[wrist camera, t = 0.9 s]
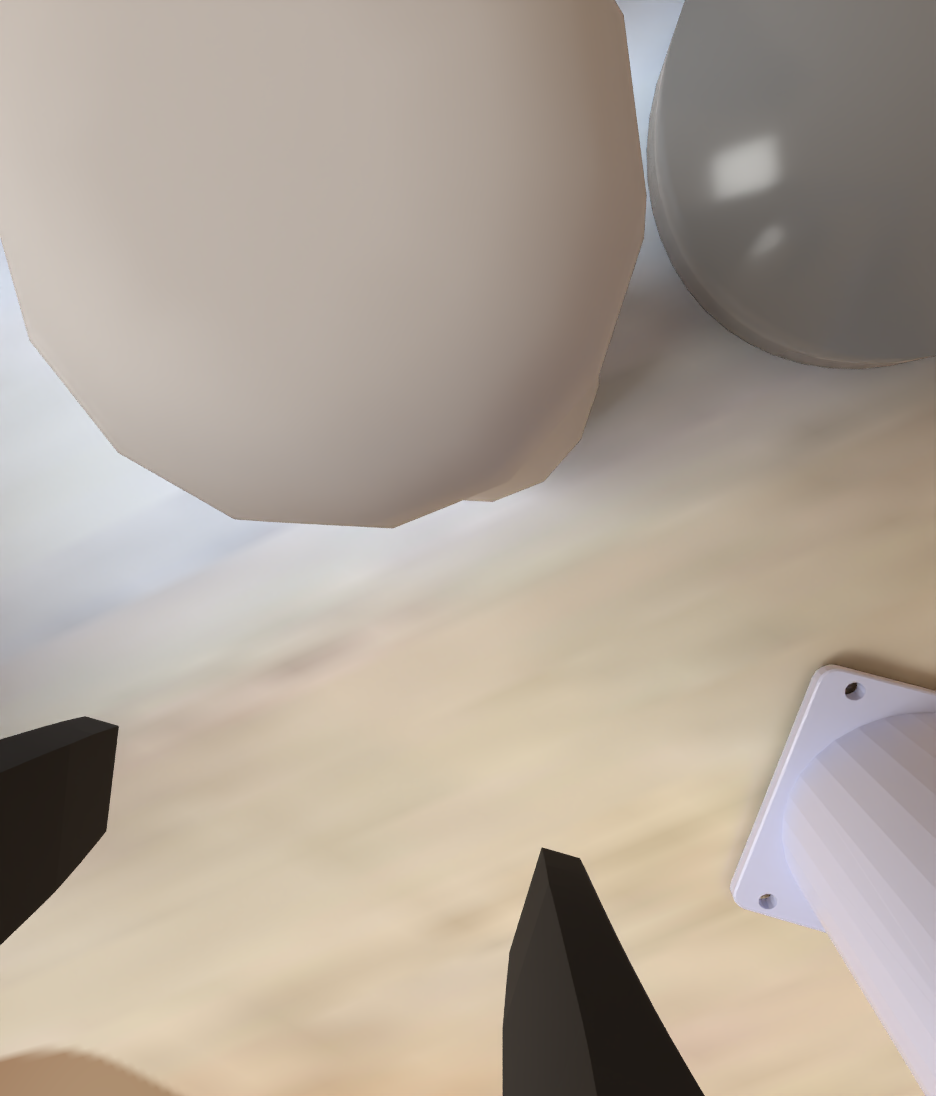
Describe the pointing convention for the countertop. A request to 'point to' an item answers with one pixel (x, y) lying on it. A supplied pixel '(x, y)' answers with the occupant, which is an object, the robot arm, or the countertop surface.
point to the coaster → (803, 174)
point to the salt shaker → (323, 238)
